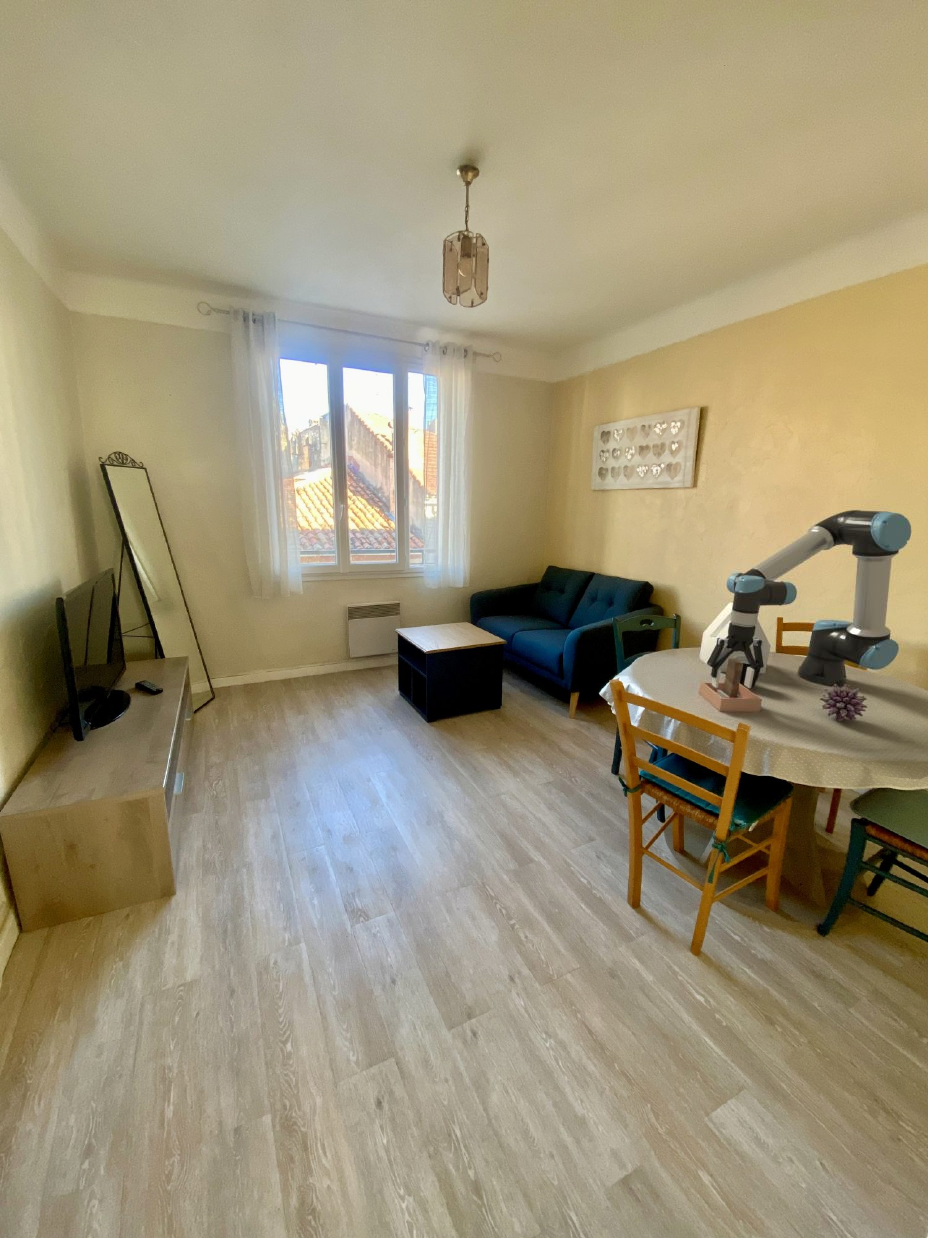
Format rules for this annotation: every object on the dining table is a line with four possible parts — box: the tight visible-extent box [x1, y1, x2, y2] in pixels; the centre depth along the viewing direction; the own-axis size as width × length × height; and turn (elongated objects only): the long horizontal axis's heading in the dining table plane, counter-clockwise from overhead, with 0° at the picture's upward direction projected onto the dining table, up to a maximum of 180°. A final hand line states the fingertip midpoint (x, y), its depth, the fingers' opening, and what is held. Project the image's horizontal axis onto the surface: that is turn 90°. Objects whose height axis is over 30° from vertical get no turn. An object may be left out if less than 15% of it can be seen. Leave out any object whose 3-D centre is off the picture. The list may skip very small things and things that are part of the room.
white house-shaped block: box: [698, 601, 771, 674], centre depth 193 cm, size 19×15×25 cm
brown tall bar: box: [723, 658, 743, 698], centre depth 160 cm, size 2×4×14 cm, turn 1°
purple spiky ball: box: [819, 683, 868, 722], centre depth 149 cm, size 12×12×12 cm
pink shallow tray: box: [698, 681, 763, 713], centre depth 161 cm, size 13×13×4 cm
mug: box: [734, 656, 761, 690], centre depth 176 cm, size 12×9×10 cm
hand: (731, 686), depth 160 cm, fingers open, 10 cm apart
